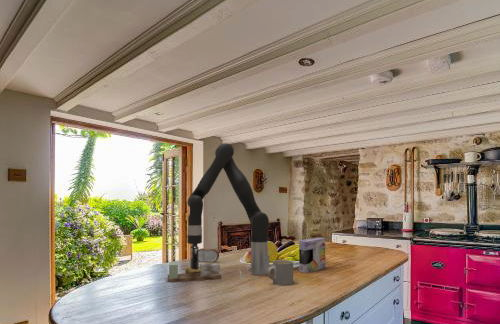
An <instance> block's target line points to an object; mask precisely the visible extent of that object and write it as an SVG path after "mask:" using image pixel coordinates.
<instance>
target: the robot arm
mask: <svg viewBox="0 0 500 324" xmlns="http://www.w3.org/2000/svg"><path fill="white" fill-rule="evenodd" d="M234 149H235V148H234V146H233V145H231V143H230V144H229V143H222V144H220V145H218V147H217V148H216V149H215V152H214V153H215V154H214V155H215V157H214V160H213V161H212V163H211V165H210V166H209V168H208V169H207V170H206V172H205V173H204V174H203V175H202V177H201V179H200V181H199V182H198V184H197V186H196V188H194V190H193V192H191V194H190V195H189V197H188V199H187V206H188V207H189V214H188V217H187V219H188V220H187V231H186V232H187V234H186V236H187V237H186V239H187V241H186V242H187V244H189V245H191V246H190V258H192V261H193V266H192V268H193V269H196V268H197V260H198V250H199V248H200V247H199V246H198V245H200V244H202V243H203V227H202V224H203V221H202V220H203V218H202V216H203V209H204V198H205V196H206V195H207V194H208V193H210V191H211V190H212V187H213V186H214V184H215V182H216V180H217V179H218V177H219V175H220V173H221V172H222V170H224V172H225V174H226V176H227V179H228V182H229V183H230V184H231V186H232V189H233V192H234V193H235V195H236V197H237V199H238V200H239V202H240V203H241V205H242V206H243V208H244V211H245V213H246V215H247V217H248V221H249V223H250V225H251V226H252V228H251V230H252V231H251V233H252V234H251V237H250V274H251V275H252V276H268V275H267V271H268V268H269V267H270V255H269V249H268V248H269V244H268V243H269V241H268V239H269V235H270V234H269V233H270V232H269V231H270V220H269V217H268V215H267V214H266V213H265V212H262V210H261V208H260V207H259V206H258V204H257V202H256V199H255V195H254V192H253V189H252V187H251V186H252V185H250V183H249V180H248V179H247V177H246V175H245V174H244V173H243V172H242V171H241V169H239V167H238V166H237V165H236V163H235V159H234V152H235V150H234Z"/></svg>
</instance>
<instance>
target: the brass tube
mask: <svg viewBox="0 0 500 324" xmlns="http://www.w3.org/2000/svg"><path fill="white" fill-rule="evenodd" d="M189 259H190V260H189V267H185V268H184V274H197V273H201V267H200V262H199V259H198V260H197V268H196V269H193V268H192V266H193V261H192V258H191V257H190V258H189Z"/></svg>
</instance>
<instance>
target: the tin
mask: <svg viewBox="0 0 500 324" xmlns="http://www.w3.org/2000/svg"><path fill="white" fill-rule="evenodd" d="M219 258H220V252H219V251H218V250H217V249H215V248H205V247H204V248H200V249H199V250H198V259H199V263H215V262H217V261H218V260H219Z"/></svg>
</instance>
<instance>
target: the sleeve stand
mask: <svg viewBox="0 0 500 324" xmlns="http://www.w3.org/2000/svg"><path fill="white" fill-rule="evenodd" d="M220 266H221V265H220V264H219V262H217V263H215V262H212V263H199V267H201V273H197V274H185V273H178V278H173V279H169V274H167V283H178V282H179V283H180V282H194V281H196V282H197V281H198V282H199V281H213V280H222V274H221V273H220V272H221V270H220Z"/></svg>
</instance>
